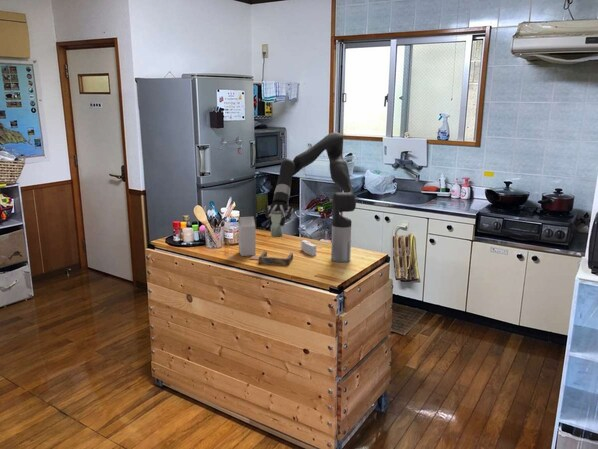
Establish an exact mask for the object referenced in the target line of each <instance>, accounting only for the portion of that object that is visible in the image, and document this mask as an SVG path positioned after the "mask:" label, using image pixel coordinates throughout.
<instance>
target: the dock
mask: <svg viewBox="0 0 598 449" xmlns="http://www.w3.org/2000/svg"><path fill="white" fill-rule="evenodd" d="M267 254H268V252H267V250H264V251H263V252H262V253H261V254H260V255H259V256H260V257H259V260H258V264H264V265H277V266H278V265H281V266H289V265H290V264H291V262H292V261H293V260H294V253H292V252H290V254H288V256H287V258H285V257H271V256H267Z"/></svg>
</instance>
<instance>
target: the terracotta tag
mask: <svg viewBox="0 0 598 449" xmlns="http://www.w3.org/2000/svg"><path fill="white" fill-rule="evenodd" d="M259 257H260V255H251V256H250V258H249V260H254V261H259Z"/></svg>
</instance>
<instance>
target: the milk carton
mask: <svg viewBox="0 0 598 449" xmlns="http://www.w3.org/2000/svg"><path fill="white" fill-rule="evenodd" d="M256 243H257V242H256V221H255V216H242V217H241V216H240V217H239V221H238V252H239V254H240V255H241V257H244V256H245V257H247V256H253V255H254V256H257V255H256V249H257V248H256V246H257V245H256Z"/></svg>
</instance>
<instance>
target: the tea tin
mask: <svg viewBox="0 0 598 449" xmlns="http://www.w3.org/2000/svg"><path fill="white" fill-rule="evenodd" d="M270 212H271V226H270V237H272V238H281V237H283V226H281V221H282V218H283V216H282V213H283V211H282V210H272V209H271V210H270Z"/></svg>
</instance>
